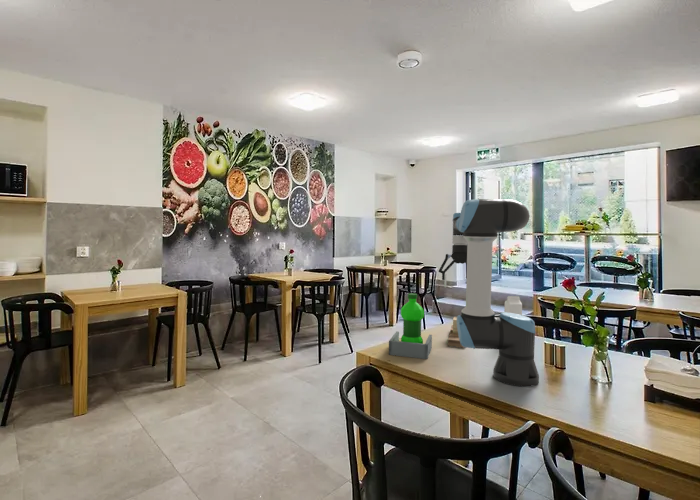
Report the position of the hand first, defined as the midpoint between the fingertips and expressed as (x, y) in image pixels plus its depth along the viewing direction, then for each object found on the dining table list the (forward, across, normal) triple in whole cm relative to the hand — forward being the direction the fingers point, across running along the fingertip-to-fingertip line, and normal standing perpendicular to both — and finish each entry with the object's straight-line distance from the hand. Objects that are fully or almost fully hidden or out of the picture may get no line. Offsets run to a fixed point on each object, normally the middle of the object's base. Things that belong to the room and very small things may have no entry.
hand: (459, 287), depth 183 cm
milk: (+26, -25, -4) cm, 36 cm away
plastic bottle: (+26, +19, +24) cm, 40 cm away
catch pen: (+26, +19, +27) cm, 42 cm away
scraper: (+26, 0, 0) cm, 26 cm away
